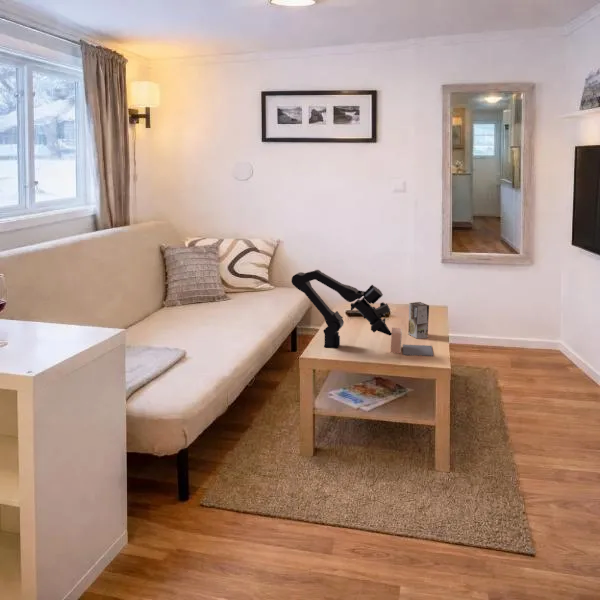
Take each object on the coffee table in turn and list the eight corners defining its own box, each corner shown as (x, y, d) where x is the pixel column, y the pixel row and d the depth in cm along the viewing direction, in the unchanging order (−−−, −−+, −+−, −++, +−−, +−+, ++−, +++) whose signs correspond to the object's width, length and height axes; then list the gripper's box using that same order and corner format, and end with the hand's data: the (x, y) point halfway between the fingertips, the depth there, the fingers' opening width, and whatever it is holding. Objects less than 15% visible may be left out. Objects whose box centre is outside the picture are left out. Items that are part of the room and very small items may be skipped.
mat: (403, 355, 285) (403, 354, 285) (402, 345, 301) (402, 344, 301) (433, 356, 283) (433, 355, 283) (431, 346, 299) (431, 345, 299)
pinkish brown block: (390, 352, 289) (391, 332, 287) (390, 346, 299) (391, 327, 297) (400, 353, 288) (401, 333, 286) (400, 347, 298) (401, 328, 296)
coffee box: (428, 338, 314) (429, 305, 311) (416, 339, 312) (417, 306, 309) (419, 333, 322) (420, 301, 319) (407, 334, 320) (408, 302, 317)
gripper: (379, 302, 281) (404, 327, 281) (380, 294, 299) (403, 318, 299) (360, 319, 283) (385, 344, 284) (362, 310, 301) (386, 334, 302)
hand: (390, 334), depth 292 cm, fingers closed
